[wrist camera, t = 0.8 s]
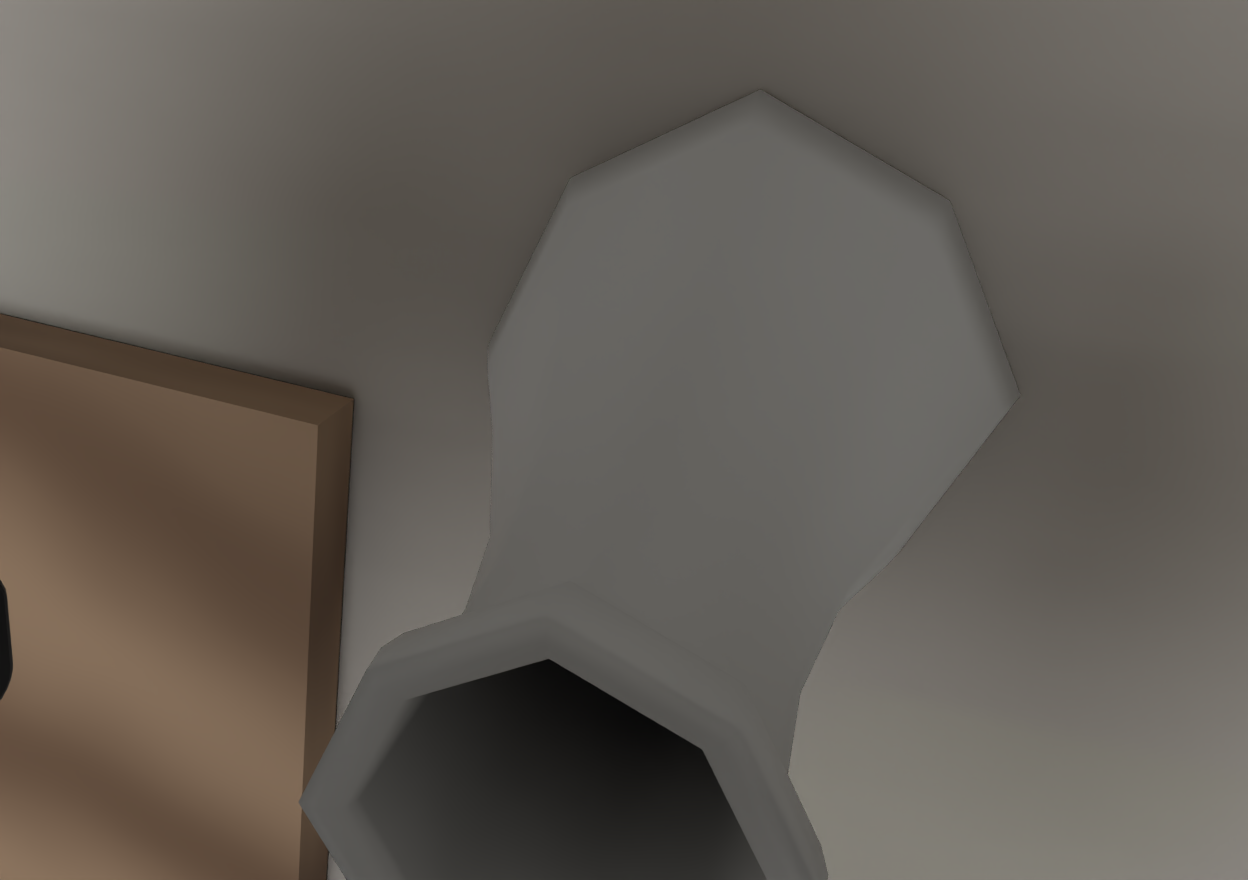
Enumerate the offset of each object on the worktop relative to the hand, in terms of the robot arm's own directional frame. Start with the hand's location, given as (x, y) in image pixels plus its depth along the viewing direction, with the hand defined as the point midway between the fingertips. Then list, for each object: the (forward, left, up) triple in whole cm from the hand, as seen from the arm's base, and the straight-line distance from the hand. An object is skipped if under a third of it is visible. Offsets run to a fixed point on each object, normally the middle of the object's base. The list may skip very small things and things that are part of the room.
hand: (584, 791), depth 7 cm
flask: (0, 0, -10) cm, 10 cm away
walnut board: (-11, +12, -9) cm, 19 cm away
